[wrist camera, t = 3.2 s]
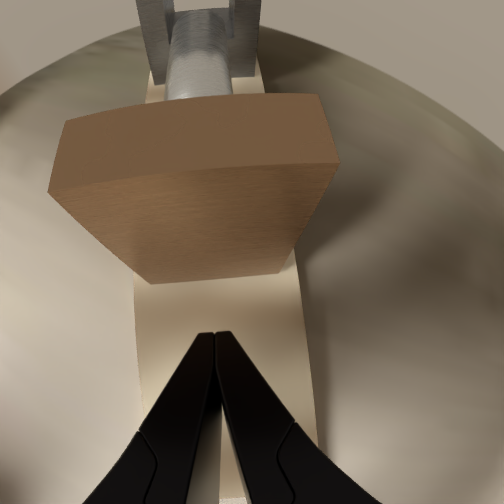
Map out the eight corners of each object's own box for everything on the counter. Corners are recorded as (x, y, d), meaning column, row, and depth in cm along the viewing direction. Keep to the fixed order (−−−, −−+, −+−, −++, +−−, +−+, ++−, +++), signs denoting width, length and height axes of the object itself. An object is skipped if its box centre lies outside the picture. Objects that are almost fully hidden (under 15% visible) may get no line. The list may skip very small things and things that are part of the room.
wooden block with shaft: (278, 273, 14) (340, 163, 6) (150, 284, 14) (47, 192, 5) (250, 90, 18) (261, -34, 9) (158, 98, 17) (132, -22, 9)
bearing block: (254, 77, 19) (264, -36, 10) (154, 85, 18) (131, -24, 10) (247, 41, 20) (253, -54, 12) (160, 48, 20) (145, -45, 11)
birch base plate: (316, 477, 13) (321, 484, 12) (164, 491, 12) (160, 498, 11) (252, 47, 22) (252, 38, 21) (157, 55, 21) (155, 46, 20)
